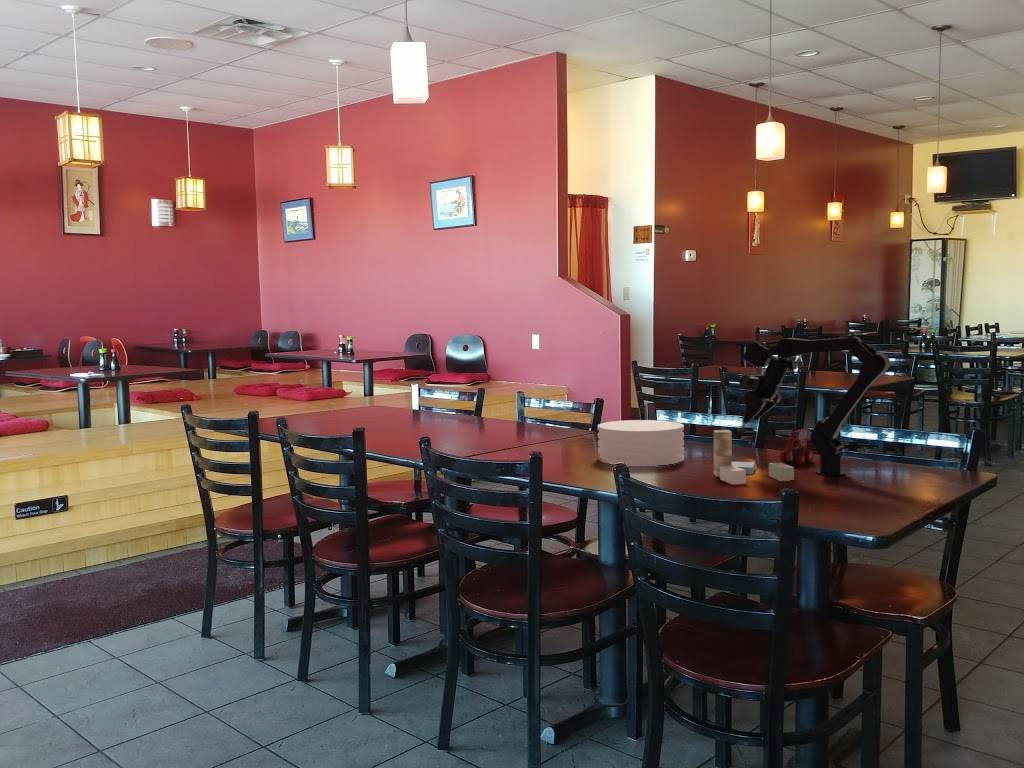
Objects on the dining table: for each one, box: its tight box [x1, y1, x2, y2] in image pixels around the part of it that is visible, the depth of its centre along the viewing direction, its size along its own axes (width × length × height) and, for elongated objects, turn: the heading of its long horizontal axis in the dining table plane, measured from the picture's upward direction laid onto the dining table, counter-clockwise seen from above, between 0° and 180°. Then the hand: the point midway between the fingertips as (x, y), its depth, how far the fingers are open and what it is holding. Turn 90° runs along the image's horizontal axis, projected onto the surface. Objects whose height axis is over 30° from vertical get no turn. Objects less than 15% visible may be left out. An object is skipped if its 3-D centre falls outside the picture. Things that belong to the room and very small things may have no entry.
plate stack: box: [597, 419, 685, 467], centre depth 290 cm, size 28×28×12 cm
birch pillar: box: [713, 429, 733, 477], centre depth 260 cm, size 4×4×13 cm
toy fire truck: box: [779, 428, 814, 465], centre depth 278 cm, size 7×12×10 cm, turn 136°
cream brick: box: [719, 466, 747, 486], centre depth 250 cm, size 8×4×4 cm, turn 12°
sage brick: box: [768, 462, 795, 482], centre depth 253 cm, size 8×4×4 cm, turn 6°
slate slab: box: [732, 461, 756, 475], centre depth 266 cm, size 9×9×2 cm
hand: (749, 421), depth 270 cm, fingers open, 9 cm apart
